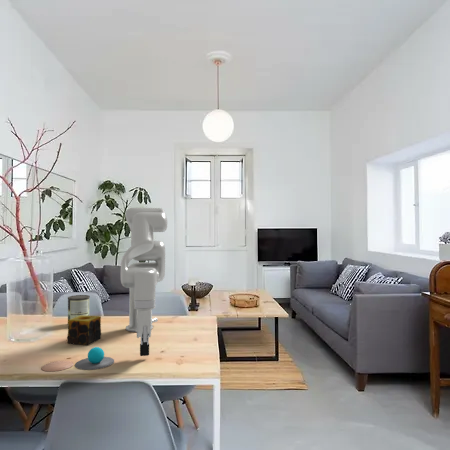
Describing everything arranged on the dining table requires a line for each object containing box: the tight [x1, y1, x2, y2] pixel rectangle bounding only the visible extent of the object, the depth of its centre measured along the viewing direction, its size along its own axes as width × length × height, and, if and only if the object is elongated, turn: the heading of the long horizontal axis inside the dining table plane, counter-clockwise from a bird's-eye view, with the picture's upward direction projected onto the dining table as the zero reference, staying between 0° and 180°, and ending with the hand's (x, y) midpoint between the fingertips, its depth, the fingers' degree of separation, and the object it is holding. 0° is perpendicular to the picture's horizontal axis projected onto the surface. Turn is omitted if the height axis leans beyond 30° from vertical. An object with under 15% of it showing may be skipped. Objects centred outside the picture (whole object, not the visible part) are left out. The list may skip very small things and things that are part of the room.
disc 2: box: [74, 356, 115, 371], centre depth 130 cm, size 13×13×1 cm
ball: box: [87, 346, 105, 364], centre depth 130 cm, size 6×6×6 cm
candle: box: [66, 315, 102, 346], centre depth 157 cm, size 10×10×10 cm
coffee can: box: [67, 294, 90, 321], centre depth 186 cm, size 10×10×14 cm
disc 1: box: [41, 360, 75, 372], centre depth 127 cm, size 10×10×1 cm
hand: (144, 355), depth 134 cm, fingers closed
